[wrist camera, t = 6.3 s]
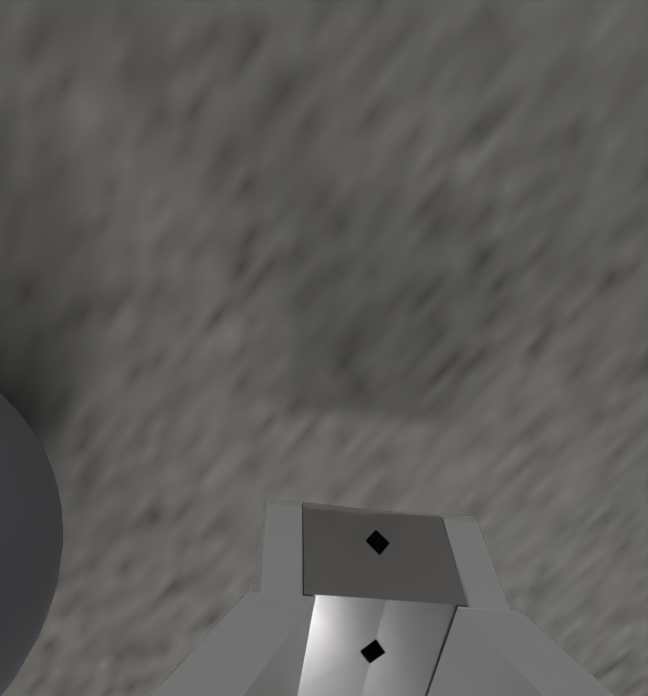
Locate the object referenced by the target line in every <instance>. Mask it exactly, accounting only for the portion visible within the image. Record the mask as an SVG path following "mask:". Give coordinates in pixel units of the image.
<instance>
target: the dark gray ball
mask: <svg viewBox="0 0 648 696" xmlns="http://www.w3.org/2000/svg"><path fill="white" fill-rule="evenodd" d="M62 546H63V525H62V510H61V502H60V497H59V493H58V488H57V484H56V481H55V477H54V474H53V471H52V468H51V465H50V463H49V461H48V458H47V456H46V453H45V451H44V449H43V447H42V446H41V444H40V442H39V441H38V439H37V437H36V436H35V434H34V432H33V431H32V429H31V428H30V426H29V425H28V423H27V422H26V420H25V419H24V418H23V417H22V415H21V414H20V413H19V412H18V411H17V410H16V409H15V408H14V407H13V406H12V405H11V404H10V403H9V401H8V400H7V399H6V398H5V397H4V396H3V395H2V394H1V393H0V696H1V695H2V694H3V692H4V691H5V690H6V688H7V687H8V686H9V684H10V683H11V681H12V680H13V678H14V677H15V676H16V674H17V673H18V671H19V669H20V667H21V666H22V664H23V662H24V660H25V659H26V657H27V655H28V653H29V652H30V650H31V648H32V646H33V645H34V643H35V641H36V639H37V638H38V635H39V633H40V631H41V628H42V626H43V624H44V621H45V619H46V616H47V614H48V611H49V608H50V605H51V602H52V599H53V595H54V592H55V588H56V585H57V581H58V575H59V568H60V561H61V553H62Z"/></svg>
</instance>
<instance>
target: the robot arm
mask: <svg viewBox="0 0 648 696" xmlns="http://www.w3.org/2000/svg"><path fill="white" fill-rule="evenodd" d="M151 696H614V695H613V694H612V693H611V692H610V691H609V690H607V689H606V688H605V687H604V686H603V685H602V684H601V683H600V682H599V681H598V680H596V679H595V678H594V677H593V676H592V675H591V674H590V673H589V672H588V671H587V670H585V669H584V668H583V667H582V666H581V665H580V664H579V663H578V662H577V661H576V660H574V659H573V658H572V657H571V656H570V655H569V654H568V653H567V652H566V651H565V650H563V649H562V648H561V647H560V646H559V645H558V644H557V643H556V642H555V641H554V640H552V639H551V638H550V637H549V636H548V635H547V634H546V633H545V632H544V631H542V630H541V629H540V628H539V627H538V626H537V625H536V624H535V623H534V622H533V621H531V620H530V619H529V618H528V617H527V616H526V615H525V614H524V613H523V612H521V611H511V610H510V607H509V605H508V602H507V599H506V597H505V594H504V591H503V589H502V586H501V583H500V581H499V578H498V575H497V573H496V570H495V567H494V565H493V562H492V559H491V557H490V554H489V551H488V549H487V546H486V543H485V541H484V538H483V535H482V533H481V530H480V528H479V525H478V522H477V521H476V520H475V519H474V518H473V517H471V516H456V515H441V514H438V515H432V514H419V513H406V512H393V511H381V510H369V509H359V508H350V507H341V506H332V505H323V504H314V503H304V502H302V504H300V503H299V502H289V501H280V500H271V499H266V500H265V504H264V511H263V519H262V527H261V534H260V542H259V550H258V558H257V566H256V574H255V583H254V591H253V592H246V593H245V594H244V595H243V596H242V597H241V598H240V599H239V600H238V601H237V603H236V604H235V605H234V606H233V607H232V608H231V609H230V610H229V611H228V612H227V613H226V615H225V616H224V617H223V618H222V619H221V620H220V621H219V622H218V623H217V624H216V625H215V627H214V628H213V629H212V630H211V631H210V632H209V633H208V634H207V635H206V636H205V637H204V639H203V640H202V641H201V642H200V643H199V644H198V645H197V646H196V647H195V648H194V649H193V651H192V652H191V653H190V654H189V655H188V656H187V657H186V658H185V659H184V660H183V661H182V663H181V664H180V665H179V666H178V667H177V668H176V669H175V670H174V671H173V672H172V673H171V675H170V676H169V677H168V678H167V679H166V680H165V681H164V682H163V683H162V684H161V685H160V687H159V688H158V689H157V690H156V691H155V692H154V693H153V694H152V695H151Z"/></svg>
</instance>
